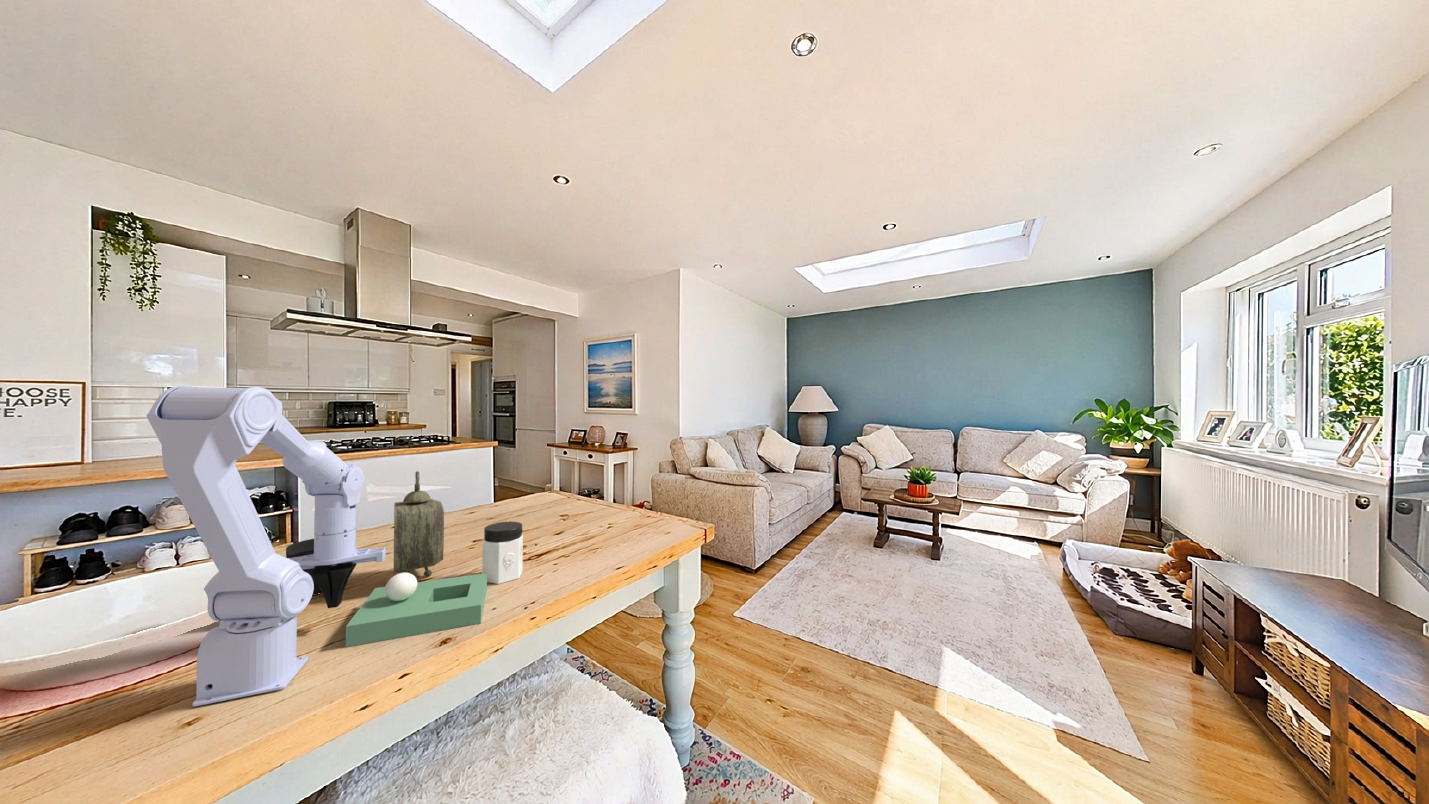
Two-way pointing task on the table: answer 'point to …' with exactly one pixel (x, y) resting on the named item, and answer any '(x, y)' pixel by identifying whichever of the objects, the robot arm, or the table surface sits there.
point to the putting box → (419, 610)
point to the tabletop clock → (418, 532)
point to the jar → (502, 552)
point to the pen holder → (303, 550)
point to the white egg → (401, 586)
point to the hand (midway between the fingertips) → (334, 605)
